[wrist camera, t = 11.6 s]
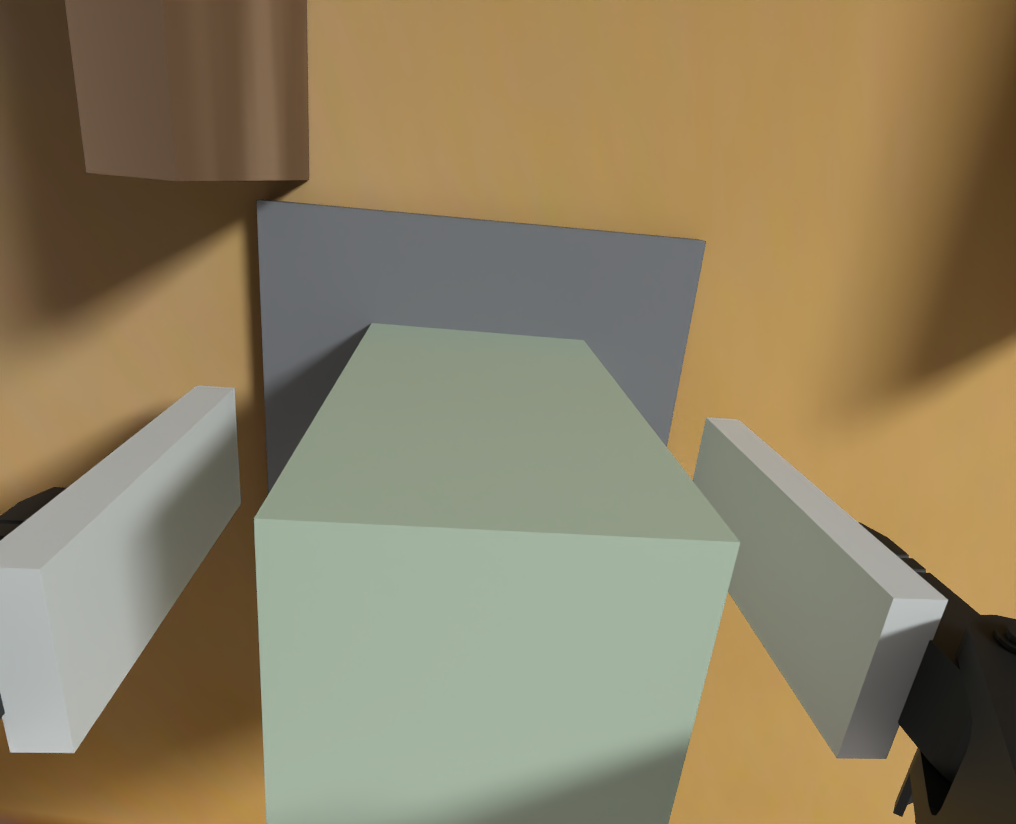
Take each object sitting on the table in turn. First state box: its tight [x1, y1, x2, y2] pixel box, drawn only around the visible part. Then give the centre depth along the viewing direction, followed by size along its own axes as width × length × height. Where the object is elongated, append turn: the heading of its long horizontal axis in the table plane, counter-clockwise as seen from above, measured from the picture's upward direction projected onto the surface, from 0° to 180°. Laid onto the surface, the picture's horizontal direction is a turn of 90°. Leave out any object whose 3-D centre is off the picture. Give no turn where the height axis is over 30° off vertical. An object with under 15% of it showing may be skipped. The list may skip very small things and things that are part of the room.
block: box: [254, 323, 740, 824], centre depth 12 cm, size 5×5×9 cm
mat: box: [257, 200, 706, 494], centre depth 16 cm, size 10×10×1 cm
